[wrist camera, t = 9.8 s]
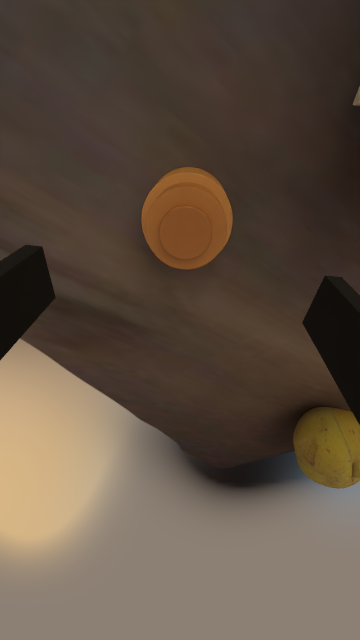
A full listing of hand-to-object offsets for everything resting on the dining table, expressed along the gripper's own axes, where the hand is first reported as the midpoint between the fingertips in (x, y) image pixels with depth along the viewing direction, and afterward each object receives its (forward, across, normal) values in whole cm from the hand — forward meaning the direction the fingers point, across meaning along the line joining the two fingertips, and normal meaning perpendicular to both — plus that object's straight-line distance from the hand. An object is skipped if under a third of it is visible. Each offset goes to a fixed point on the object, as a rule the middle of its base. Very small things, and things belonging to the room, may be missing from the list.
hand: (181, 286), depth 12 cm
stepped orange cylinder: (+13, 0, 0) cm, 13 cm away
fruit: (+14, +24, -28) cm, 39 cm away
